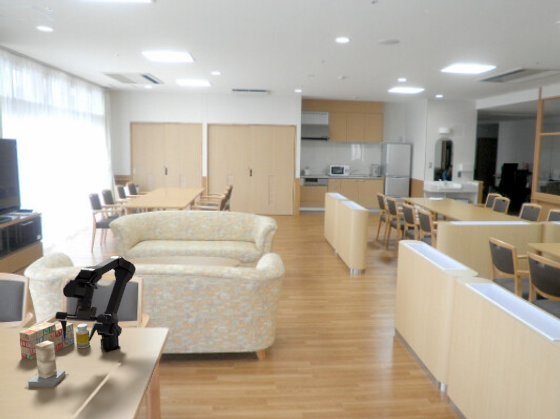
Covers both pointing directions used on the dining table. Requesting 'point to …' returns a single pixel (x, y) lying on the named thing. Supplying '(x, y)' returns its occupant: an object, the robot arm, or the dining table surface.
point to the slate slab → (46, 380)
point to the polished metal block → (46, 359)
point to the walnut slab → (48, 387)
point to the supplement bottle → (82, 336)
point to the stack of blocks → (45, 337)
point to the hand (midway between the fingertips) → (77, 340)
